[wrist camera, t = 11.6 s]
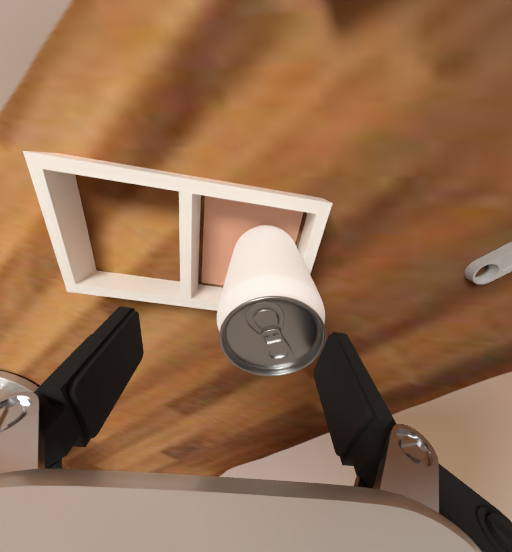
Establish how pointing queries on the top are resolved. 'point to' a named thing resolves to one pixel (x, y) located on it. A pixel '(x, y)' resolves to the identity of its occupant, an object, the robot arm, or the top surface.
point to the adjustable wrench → (491, 265)
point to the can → (270, 306)
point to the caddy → (217, 227)
